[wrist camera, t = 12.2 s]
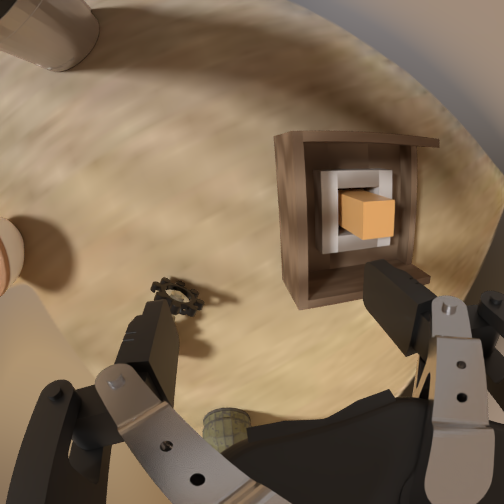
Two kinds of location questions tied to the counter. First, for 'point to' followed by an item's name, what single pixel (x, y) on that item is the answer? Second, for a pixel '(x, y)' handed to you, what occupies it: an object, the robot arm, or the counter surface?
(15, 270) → the lidded jar
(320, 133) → the inlet box
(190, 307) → the valve
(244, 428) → the thermos
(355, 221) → the orange rectangular block
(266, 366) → the counter surface
